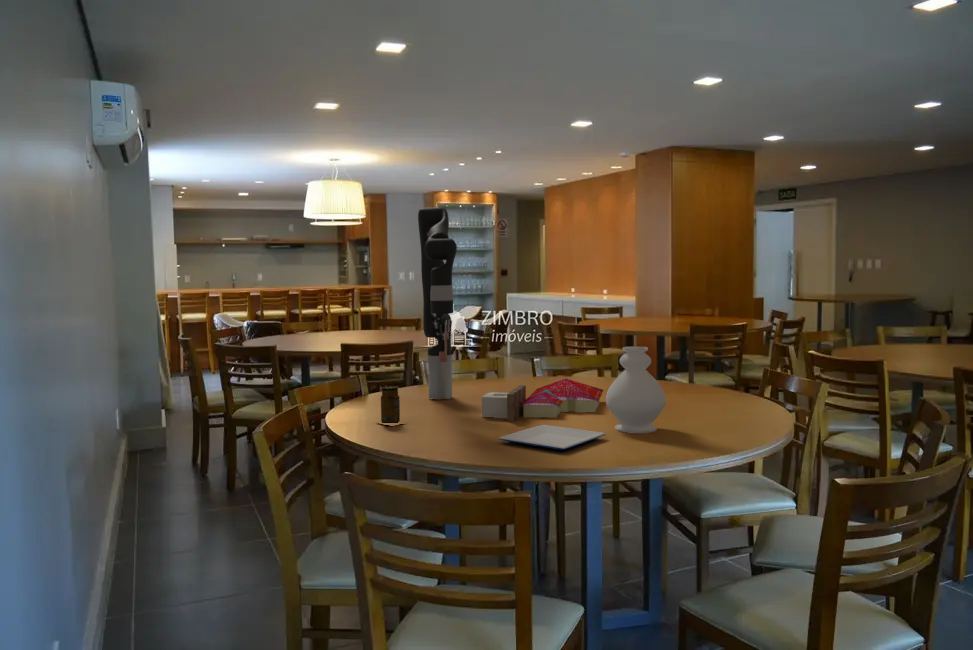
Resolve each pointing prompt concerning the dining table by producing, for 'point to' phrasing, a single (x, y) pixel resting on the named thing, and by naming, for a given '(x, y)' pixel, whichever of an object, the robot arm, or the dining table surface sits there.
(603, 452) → the dining table surface
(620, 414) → the decorative vase
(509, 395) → the wall
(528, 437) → the plate
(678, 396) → the dining table surface
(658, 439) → the dining table surface
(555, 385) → the house model
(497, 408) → the block
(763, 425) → the dining table surface
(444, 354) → the dowel
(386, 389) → the condiment
